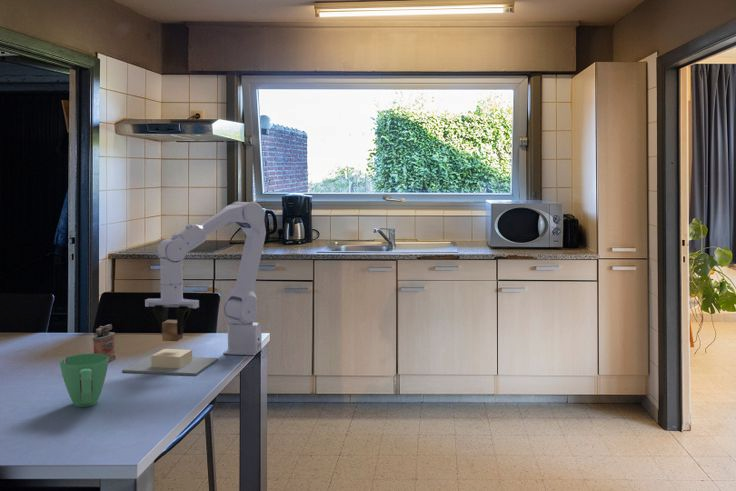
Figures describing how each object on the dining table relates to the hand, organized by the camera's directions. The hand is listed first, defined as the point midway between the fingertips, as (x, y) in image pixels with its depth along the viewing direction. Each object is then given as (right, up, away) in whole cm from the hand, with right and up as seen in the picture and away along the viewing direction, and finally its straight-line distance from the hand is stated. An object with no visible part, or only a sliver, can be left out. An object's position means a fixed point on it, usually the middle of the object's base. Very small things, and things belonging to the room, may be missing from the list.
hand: (172, 333), depth 180 cm
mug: (-8, -11, -35) cm, 38 cm away
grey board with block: (0, -9, -1) cm, 9 cm away
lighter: (-19, -8, +2) cm, 21 cm away
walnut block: (0, -2, 0) cm, 2 cm away
